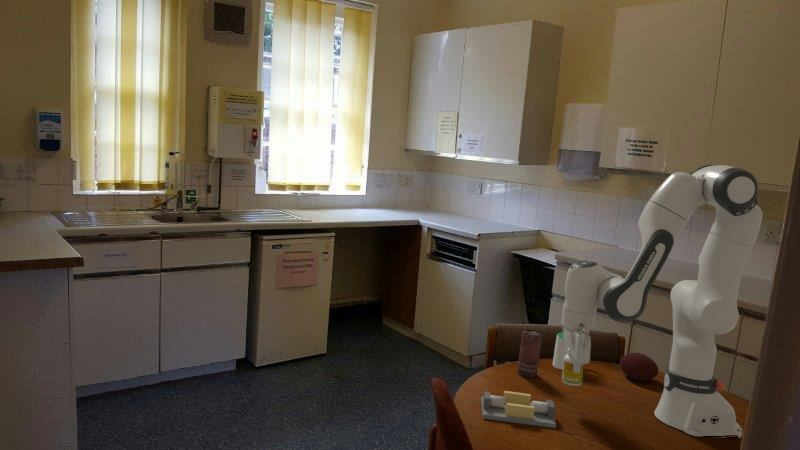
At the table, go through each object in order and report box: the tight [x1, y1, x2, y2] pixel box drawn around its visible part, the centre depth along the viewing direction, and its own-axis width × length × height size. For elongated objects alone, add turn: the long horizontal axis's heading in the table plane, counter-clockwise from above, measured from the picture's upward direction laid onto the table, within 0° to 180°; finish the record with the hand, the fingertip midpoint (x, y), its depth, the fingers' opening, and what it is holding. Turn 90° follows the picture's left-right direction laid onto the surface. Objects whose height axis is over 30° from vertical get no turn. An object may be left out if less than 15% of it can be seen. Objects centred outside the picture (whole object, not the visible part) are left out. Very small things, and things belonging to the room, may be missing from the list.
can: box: [517, 329, 543, 379], centre depth 193 cm, size 6×6×14 cm
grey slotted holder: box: [480, 390, 557, 429], centre depth 164 cm, size 19×11×4 cm, turn 85°
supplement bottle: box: [561, 348, 585, 387], centre depth 170 cm, size 5×5×10 cm
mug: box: [552, 332, 568, 371], centre depth 204 cm, size 12×8×10 cm, turn 102°
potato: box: [619, 352, 659, 381], centre depth 199 cm, size 12×11×8 cm
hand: (573, 367), depth 170 cm, fingers closed on supplement bottle, 5 cm apart
